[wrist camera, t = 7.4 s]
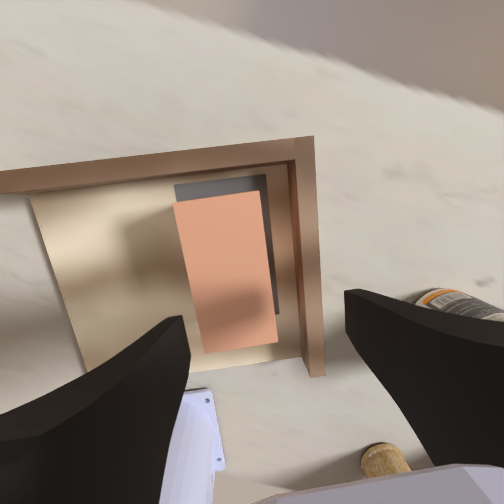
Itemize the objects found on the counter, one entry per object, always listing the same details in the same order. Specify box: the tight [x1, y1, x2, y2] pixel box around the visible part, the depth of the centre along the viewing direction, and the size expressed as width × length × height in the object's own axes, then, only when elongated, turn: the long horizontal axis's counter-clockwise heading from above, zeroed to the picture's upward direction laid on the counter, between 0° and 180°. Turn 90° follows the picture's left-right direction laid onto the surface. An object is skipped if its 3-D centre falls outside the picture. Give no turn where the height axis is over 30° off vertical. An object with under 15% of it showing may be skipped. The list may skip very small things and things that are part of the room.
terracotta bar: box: [172, 191, 278, 354], centre depth 16 cm, size 9×4×5 cm, turn 8°
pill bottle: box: [415, 288, 504, 322], centre depth 17 cm, size 6×6×10 cm
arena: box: [0, 136, 326, 378], centre depth 18 cm, size 17×19×4 cm
